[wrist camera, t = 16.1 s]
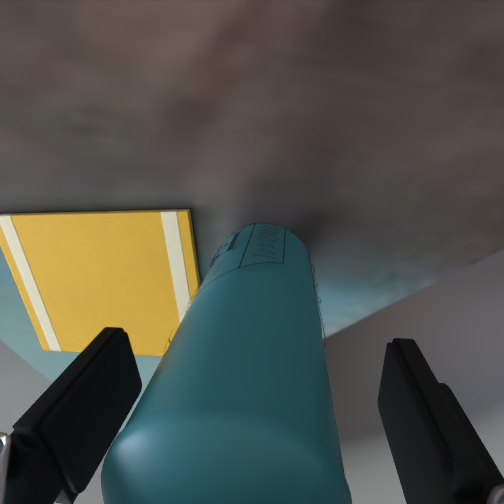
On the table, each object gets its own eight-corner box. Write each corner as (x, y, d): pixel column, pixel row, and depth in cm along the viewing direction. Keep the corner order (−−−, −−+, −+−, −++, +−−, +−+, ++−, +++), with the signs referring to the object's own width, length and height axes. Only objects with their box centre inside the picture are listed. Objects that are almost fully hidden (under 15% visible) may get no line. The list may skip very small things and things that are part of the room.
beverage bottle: (244, 197, 20) (-370, 1065, 1) (330, 239, 20) (745, 1355, 2) (210, 272, 22) (-161, 921, 4) (286, 308, 23) (271, 1052, 4)
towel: (190, 208, 20) (187, 211, 20) (210, 353, 25) (208, 358, 25) (-5, 213, 23) (-13, 215, 22) (48, 346, 28) (42, 350, 27)
